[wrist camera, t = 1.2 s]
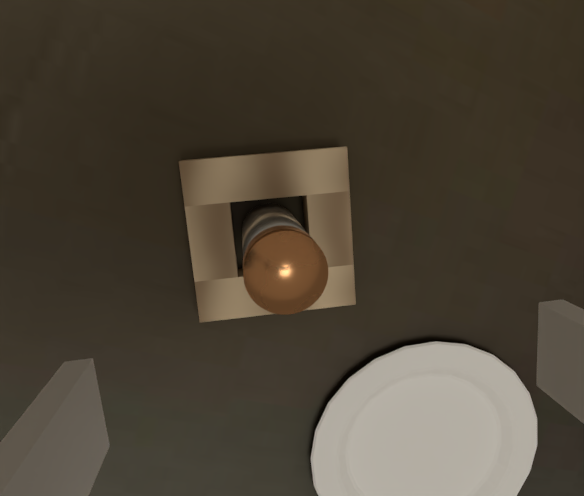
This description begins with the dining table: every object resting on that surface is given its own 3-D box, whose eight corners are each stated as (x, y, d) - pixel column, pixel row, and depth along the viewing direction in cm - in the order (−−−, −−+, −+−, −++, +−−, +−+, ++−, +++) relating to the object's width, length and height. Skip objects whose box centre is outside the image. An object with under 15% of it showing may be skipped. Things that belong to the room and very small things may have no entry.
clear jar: (243, 261, 38) (247, 319, 26) (237, 204, 37) (238, 236, 25) (300, 255, 39) (331, 309, 26) (295, 199, 38) (325, 227, 25)
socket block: (202, 311, 39) (199, 322, 36) (182, 160, 36) (178, 161, 34) (348, 294, 40) (355, 304, 37) (339, 146, 37) (347, 146, 35)
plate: (570, 433, 46) (583, 444, 44) (410, 576, 47) (416, 592, 45) (433, 287, 41) (441, 293, 39) (259, 450, 42) (260, 463, 41)
